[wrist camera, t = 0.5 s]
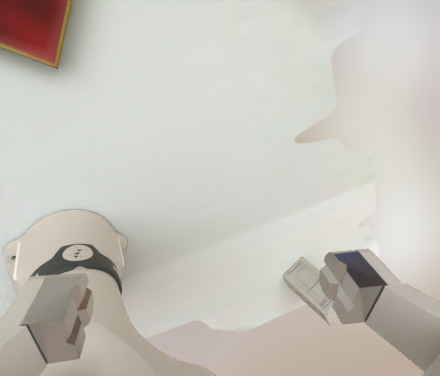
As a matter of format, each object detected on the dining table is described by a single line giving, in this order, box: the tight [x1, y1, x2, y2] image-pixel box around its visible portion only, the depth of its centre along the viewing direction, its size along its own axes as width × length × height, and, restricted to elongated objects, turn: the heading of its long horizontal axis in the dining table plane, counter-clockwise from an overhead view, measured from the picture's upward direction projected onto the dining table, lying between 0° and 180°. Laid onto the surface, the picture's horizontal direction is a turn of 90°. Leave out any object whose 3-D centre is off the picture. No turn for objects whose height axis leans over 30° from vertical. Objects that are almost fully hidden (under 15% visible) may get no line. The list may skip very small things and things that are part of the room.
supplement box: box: [283, 257, 338, 325], centre depth 81 cm, size 10×9×17 cm
